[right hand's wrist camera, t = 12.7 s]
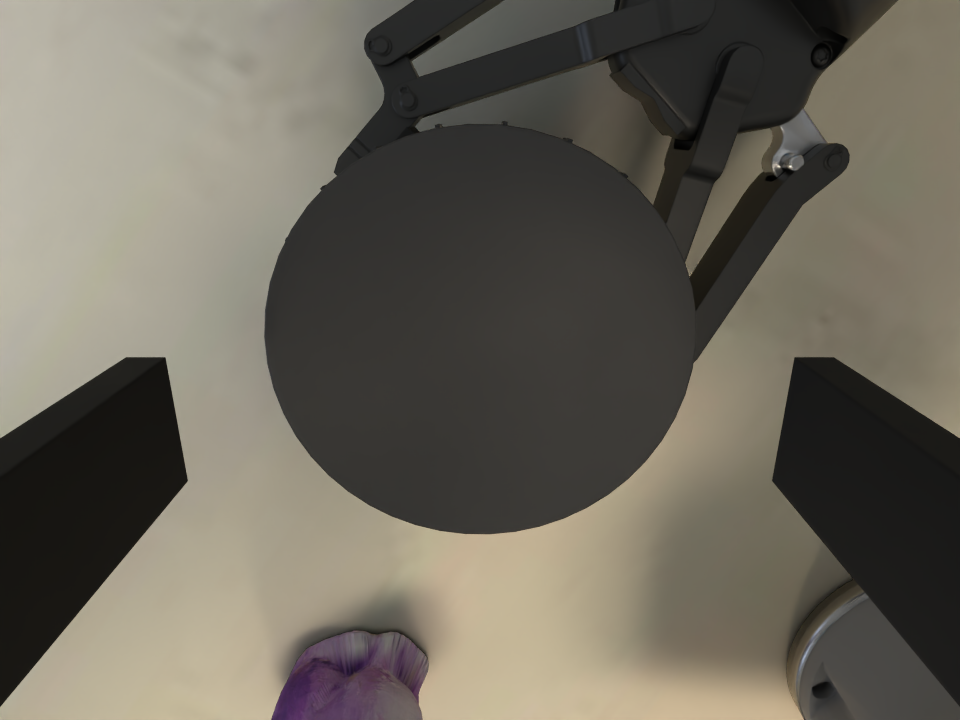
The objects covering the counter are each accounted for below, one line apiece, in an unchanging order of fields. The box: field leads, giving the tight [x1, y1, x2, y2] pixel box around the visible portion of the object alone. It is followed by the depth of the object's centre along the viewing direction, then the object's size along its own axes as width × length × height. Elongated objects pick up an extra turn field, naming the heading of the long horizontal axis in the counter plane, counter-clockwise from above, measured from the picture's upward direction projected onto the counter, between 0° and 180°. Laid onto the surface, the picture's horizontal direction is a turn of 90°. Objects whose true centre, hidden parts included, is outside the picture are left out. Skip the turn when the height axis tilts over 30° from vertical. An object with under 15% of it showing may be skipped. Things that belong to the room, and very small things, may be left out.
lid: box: [264, 121, 696, 534], centre depth 17 cm, size 11×11×2 cm
